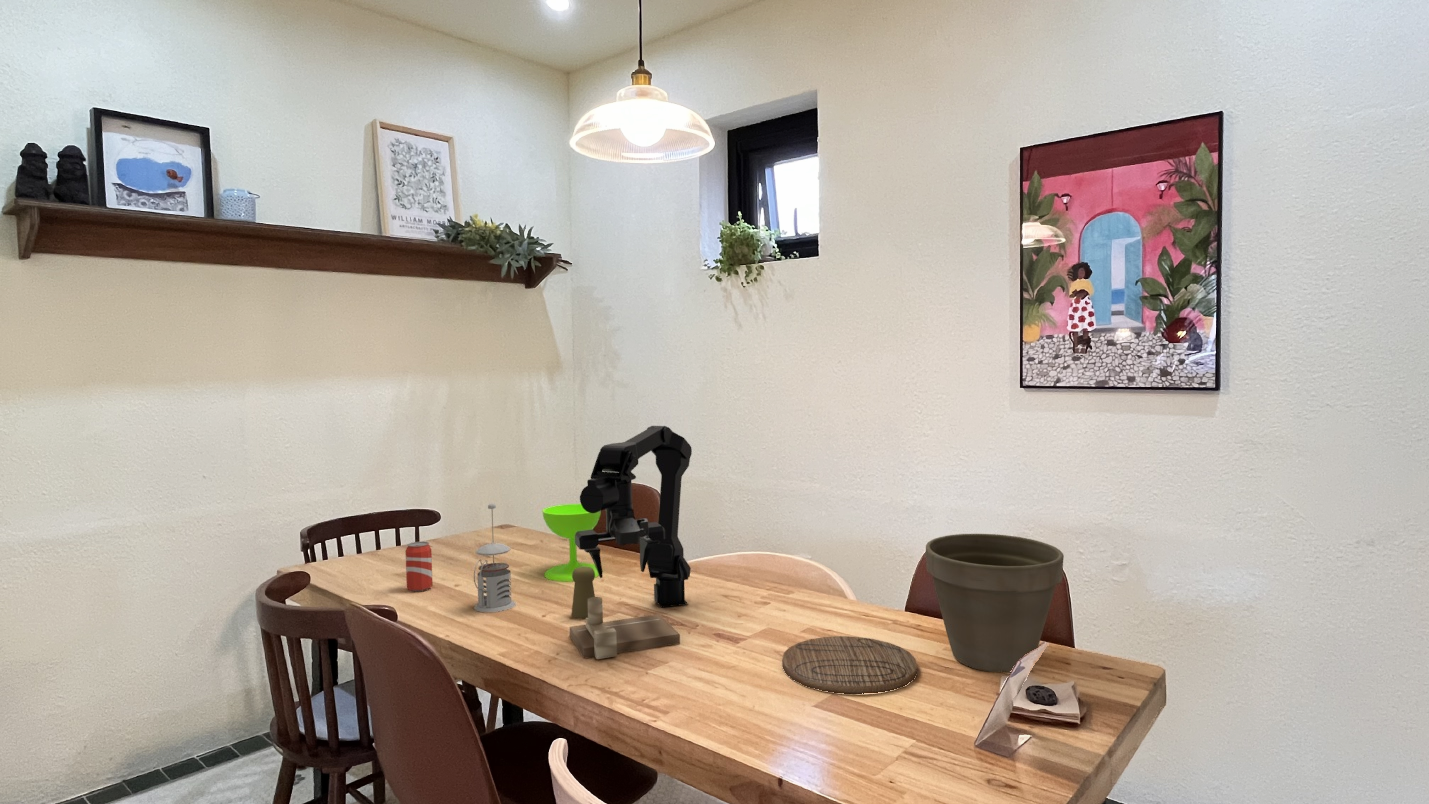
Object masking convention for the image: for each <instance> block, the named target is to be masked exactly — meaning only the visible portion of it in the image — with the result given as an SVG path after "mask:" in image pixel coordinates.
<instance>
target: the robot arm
mask: <svg viewBox="0 0 1429 804" xmlns="http://www.w3.org/2000/svg"><path fill="white" fill-rule="evenodd" d="M650 452H651V453H652V454H653V455H654V456H655V466H656V468H657V469H658V472H659V473H660V489H659V490H660V491H659V492H660V493H659V503H658V504H659V506H658V509H659V510H658V518H657V519H658V521H653V522H649V520H648V518H645V517H644V518H637V519H636V517H635V511H634V508H633V490H632V489H633V487H632V485H633V484H632V481H633V480H635V479H637V476H636V475H635V473H633V472H632V471H633V470H635V468H636V467H637V466H638V465H639V460H640V458H642V457H643V456H645V455H646V454H648V453H650ZM692 453H693V451H692V445H691V444H690V443H689V442H688V441H687V440H686V438H685V437H683V436H682V435H679V434H678V433H676V432H674V431H673V430H672V429H671V427H668V426H666V425H651V426H648V427H647V428H646V429H645V430H643V431H642V432H640V433H638V434H636V435H635V436H633V437H631V438H629V439H627V440H625V441H622V442H614V443H613V442H612V443H609V444H605V445H602V447H600V449H599V452H598V454H597V457H596V460H595V463H594V465H593V468H592V472H591V475H590V478H589V479H588V480H586V481H587V485H586V486H585V487H583V488H582V490H581V492H580V495H579V502H580V503H579V504H581V505H582V507H583V508H584V509H585V510H586V511H587V512H589V513H597V512H599V511H604V510H605V519H606V520H605V523H606V524H605V530H606V532H599V533H597V532H596V531H595V530H594V529H593V530H584V531H577V533H576V534H575V544H576V548H578V549H579V550H583V551H584V552H585V553H588V554H589V555H590V557H591V559H592V562H593V564H594V565H595V567H596V569H597V572H598V574H599V576H598V577H599V578H600V579H602V578H603V572H602V571H603V568H602V567H603V566H602V559H601V548H600V547H599V544H600V543H603V542H604V543H605V542H610V541H611V542H612V541H615V542H616V544H617V545H618V546H620V547H623V546H626V545H631V544H632V545H638V544H639V567H640V572H641V573H644V572H645V569H646V566H647V570H648V573H649V577H650V579H655V583H654V584H653V595H654V597H653V601H654V602H655V603H656V604H657V605H659V607H661V608H668V607H674V606H682V605H683V606H684V605H688V601H687V600H686V598H685V597H686V596H685V581H687V580H689V578H690V576H691V569H692V568H691V566H690V565H689V563H688V562H687V560H686V559H685V557H684V556H685V555H684V554H685V553H684V547H683V545H682V543H681V540H680V538H679V537H678V535H679V522H680V504H681V493H682V490H681V489H682V477H683V475H684V474H685V473H686V471H687V469H688V468H689V467H690V462H691V457H692Z"/></svg>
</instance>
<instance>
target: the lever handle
mask: <svg viewBox="0 0 1429 804" xmlns="http://www.w3.org/2000/svg"><path fill="white" fill-rule="evenodd" d="M603 613H604V612H603V597H599V596H595V597H591V598H588V618H586V619H585V625H586V628H587V630H588V631H589V632H590V634H591V635H592V637H593V638H594V654H595V657H594V658H595V659H596V660H603V659H607V658H614V657H618V656H617V655H618V653H617V642H616V630H615V629H614V628H611V629H606V628H605V626H604V625H603V624H602V623H603V622H604V618H603V617H604V616H603V615H604V614H603Z"/></svg>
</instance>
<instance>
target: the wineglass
mask: <svg viewBox="0 0 1429 804" xmlns="http://www.w3.org/2000/svg"><path fill="white" fill-rule="evenodd" d="M601 514H602V513H601V511H599V512H597V513H589V512H587V511H586V510H585V509H584V508H583V507H582V505H581V503H570V504H561V505H554V506H553V505H552V506H549V507H546V508H543V509H542V517H543V520H544V522H545V524H546V526H547V528H548V529H549V530H550V531H551V532H552V533H554V534H556V535H557V536H559V537H562V538H564V539H568V540H569V542H568V543H569V545H568V546H569V561H568V563H564V564H558V565H555V566H553V567H550V568H548V569H547V570H546V571H545V572H544V578H545V577H546V578H545V579H547V580H550V581H555V582H574V581H573V578H572V573H573V571H574V569H576V568H578V567H591V568H593V570H594V572H595V578H597V577H600V576H599V574H598V572H597V569H596V567H595V564H594V563H586V562H579V561H578V557H577V556H578V554H577V548H578V547H577V545H576V544H575V534H576V533H577V531H584V530H594V528H595V527H596V526H597V525H598V522H599V520H600V517H601ZM603 572H604V571H603V570H602V573H603Z"/></svg>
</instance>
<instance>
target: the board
mask: <svg viewBox="0 0 1429 804" xmlns="http://www.w3.org/2000/svg"><path fill="white" fill-rule="evenodd" d="M602 624H603V625H604V626H605V628H606V629H611V628H614V629H615V630H616V642H617V654H620V653H628V652H634V651H639V650H647V649H653V648H659V647H660V648H661V647H665V646H673V645H678V644H679V645H680V644H681V635H680V633H679V631H677V630H676V629H675V628H674V627H673V626H672V624H670V623H669V622H668V621H667V620H666V619H665V618H664V617H663V616H662V615H661V614H660V613H658V614H652V615H651V614H650V615H643V616H637V617H635V616H634V617H630V618H629V617H628V618H622V619H617V620H616V619H614V620H608V621H603V623H602ZM569 638H570V639H571V640H572V641H573V644H574V645H575V646H576V648H577V650H578V652H579V653H580V655H581V656H582V657H583V659H589V658H596V657H595V654H594V638H593V637H592V635H591V634H590V632H589V631H588V630H587V628H586V624H580V625H573V626H569Z"/></svg>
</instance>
